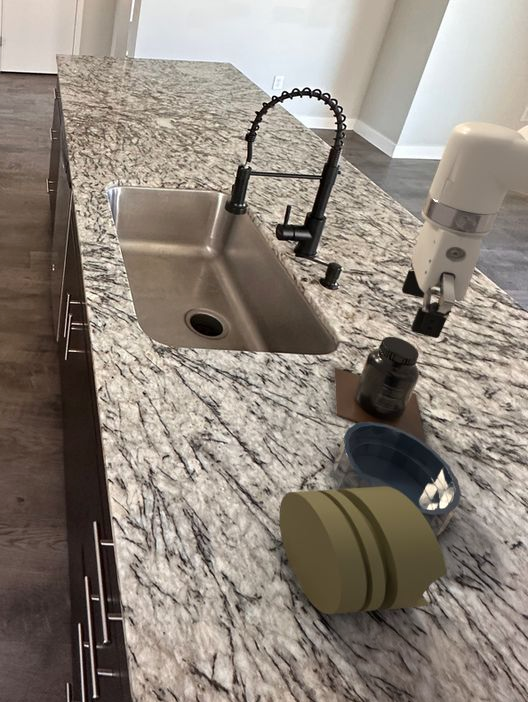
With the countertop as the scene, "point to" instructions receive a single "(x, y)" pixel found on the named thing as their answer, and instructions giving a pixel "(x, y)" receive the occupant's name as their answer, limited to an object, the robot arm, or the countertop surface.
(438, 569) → the piston
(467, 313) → the countertop surface
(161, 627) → the countertop surface
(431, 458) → the bowl
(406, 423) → the walnut board
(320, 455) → the countertop surface
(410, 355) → the supplement bottle
